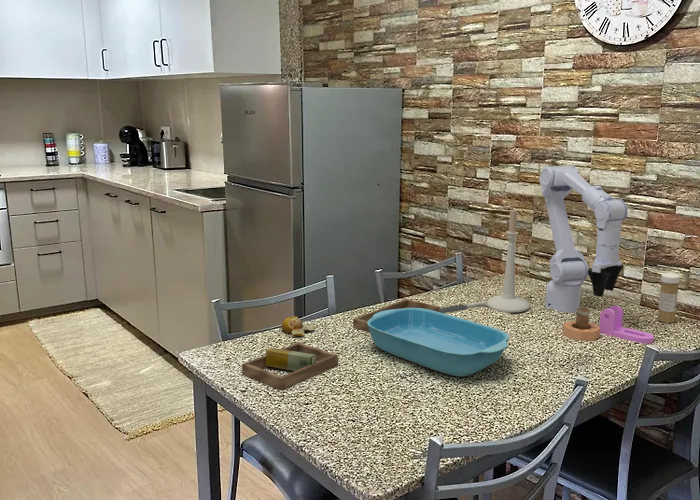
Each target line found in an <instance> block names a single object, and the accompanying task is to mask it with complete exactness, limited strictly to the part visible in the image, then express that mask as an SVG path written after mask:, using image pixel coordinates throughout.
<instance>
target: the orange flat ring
mask: <svg viewBox="0 0 700 500" xmlns="http://www.w3.org/2000/svg"><path fill="white" fill-rule="evenodd" d="M575 324H576V320H569V321H568V320H567V321H566V322H565V323H563V324H562V331H561V332H562V334H563V335H564V336H565V337H566V338H567V339H571V340H576V341H581V342H582V341H583V342H584V341H587V342H588V341H596V340H597V339H599V338H600V337H601V335H600V334H601V333H600V328H599V325H596V324H595V323H593V322H589V323H588V329H583V330H581V329H577V328H575Z"/></svg>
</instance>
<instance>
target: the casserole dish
mask: <svg viewBox="0 0 700 500" xmlns="http://www.w3.org/2000/svg"><path fill="white" fill-rule="evenodd" d="M367 324H368V327H369V331H370V332H369V334H370V336H371V339H372V341H373V343H374V344H375V345H376V347H378V348H379V349H380V350H382V351H384V352H385V353H388V354H390V355H393V356H395V357H398V358H401V359H403V360H405V361H409V362H412V363H415V364H417V365H420V366H422V367H425V368H427V369H431V370H433V371H435V372H439V373H443V374H445V375H449V376H454V377H467V376H471V375H473V374H475V373H479V372H481V371H482V370H484V369H486V368H488V367H490V366H491V365H493V364H495V363H497V362H498V361H499V360H500V358H501V357H502V355H503V353H504V351H505V350H506V349H507V348H508V346H509V343H508V341H509V338H510V336H509V334H508V332H505V331H504V330H501V329H498V328H496V327H492V326H489V325H486V324H482V323H479V322H475V321H471V320H469V319H465V318H461V317H457V316H454V315H451V314H447V313H440V312H436V311H433V310H428V309H423V308H403V309H392V310H385V311H381V312H378V313H376V314H374V315H373V318H371V319H370V320H368V322H367Z"/></svg>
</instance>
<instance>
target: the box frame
mask: <svg viewBox="0 0 700 500" xmlns="http://www.w3.org/2000/svg"><path fill="white" fill-rule="evenodd" d="M282 349H283V350H289V351H295V352H302V353H308V354H315V355H317V357H316V362H315V363H314V364H313V365H308V366H306V367H303V368H301V369H299V370H296V371H292V372H290V373H287V374H285V375H283V376H281V375H279V374H276V373H274V372H270V371H268V370H266V369H265V368H268V367H269V366H266V354H265V355H264V354H263V355H262V356H259V357H257V358H254V359H251V360H249V361H245V362H243V363H242V364H241V370H242V371H241V374H242V376H246V377H247V378H251V379H253V380H256V381H257V382H261V383H263V384H266V385H268V386H271V387H272V388H273V387H274V388H276V389H278V390H280V391H283V390H285V389H288V388H290V387H292V386H294V385H298V384H299V383H301V382H304V381H306V380H308V379H310V378H312V377H314V376H316V375H317V376H318V375H319V374H321V373H324V372H326V371H329V370H330V369H332V368H335V367H337V366H339V355H338V354H335V353H332V352H329V351H326V350H323V349H320V348H317V347H314V346H310V345H308V344H305V343H301V342H297V343H294V344H292V345H291V344H290V345H289V346H285V347H283V348H282Z"/></svg>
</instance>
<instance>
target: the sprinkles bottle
mask: <svg viewBox="0 0 700 500" xmlns="http://www.w3.org/2000/svg"><path fill="white" fill-rule="evenodd" d="M680 278H681V277H680V275H679V274H676V273H671V272H668V273H667V272H666V273H662V274H661V278H660V281H661V285H660V294H659V300H658V301H659V302H658V314H657V315H658V316H657V320H658V321H659V322H662V323H665V324H667V323H674V322H676V312H677V304H678V293H679V292H678V291H679V285H680Z"/></svg>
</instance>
